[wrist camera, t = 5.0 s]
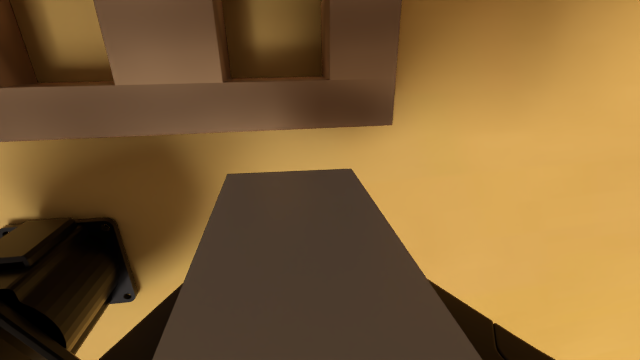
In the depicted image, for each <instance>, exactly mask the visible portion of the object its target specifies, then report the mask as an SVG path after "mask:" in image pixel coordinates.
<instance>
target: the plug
mask: <svg viewBox="0 0 640 360" xmlns="http://www.w3.org/2000/svg"><path fill="white" fill-rule="evenodd" d="M152 360H482V358H481V357H480V355H479V354H478V353H477V351H476V350H475V348H474V347H473V345H472V344H471V342H470V341H469V339H468V338H467V337H466V335H465V334H464V332H463V331H462V329H461V328H460V326H459V325H458V323H457V322H456V320H455V319H454V318H453V316H452V315H451V313H450V312H449V310H448V309H447V307H446V306H445V304H444V303H443V302H442V300H441V299H440V297H439V296H438V294H437V293H436V291H435V290H434V288H433V287H432V286H431V284H430V283H429V281H428V280H427V278H426V277H425V275H424V274H423V272H422V271H421V270H420V268H419V267H418V265H417V264H416V262H415V261H414V259H413V258H412V256H411V255H410V253H409V252H408V251H407V249H406V248H405V246H404V245H403V243H402V242H401V240H400V239H399V237H398V236H397V235H396V233H395V232H394V230H393V229H392V227H391V226H390V224H389V223H388V221H387V220H386V219H385V217H384V216H383V214H382V213H381V211H380V210H379V208H378V207H377V205H376V204H375V202H374V201H373V200H372V198H371V197H370V195H369V194H368V192H367V191H366V189H365V188H364V186H363V185H362V184H361V182H360V181H359V179H358V178H357V176H356V175H355V173H354V172H353V170H352V169H333V170H310V171H287V172H264V173H240V174H227V176H226V179H225V181H224V184H223V186H222V189H221V191H220V194H219V196H218V199H217V201H216V204H215V206H214V208H213V211H212V213H211V216H210V218H209V221H208V223H207V226H206V228H205V231H204V233H203V236H202V238H201V241H200V243H199V246H198V248H197V250H196V253H195V255H194V258H193V260H192V263H191V265H190V268H189V270H188V273H187V275H186V278H185V280H184V283H183V285H182V288H181V290H180V293H179V295H178V297H177V300H176V302H175V305H174V307H173V310H172V312H171V315H170V317H169V320H168V322H167V325H166V327H165V330H164V332H163V335H162V337H161V339H160V342H159V344H158V347H157V349H156V352H155V354H154V357H153V359H152Z"/></svg>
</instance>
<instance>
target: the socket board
mask: <svg viewBox="0 0 640 360" xmlns="http://www.w3.org/2000/svg"><path fill="white" fill-rule="evenodd" d="M93 1H94V5H95V9H96V13H97V17H98V21H99V24H100V28H101V32H102V36H103V40H104V44H105V48H106V52H107V55H108V59H109V63H110V67H111V71H112V75H113V79H114V81H94V82H50V83H38V82H37V79H36V76H35V73H34V71H33V68H32V65H31V62H30V59H29V56H28V53H27V51H26V48H25V45H24V42H23V39H22V36H21V33H20V31H19V28H18V25H17V22H16V19H15V16H14V13H13V10H12V8H11V5H10V2H9V0H0V142H9V141H32V140H56V139H79V138H102V137H126V136H149V135H173V134H196V133H219V132H243V131H266V130H290V129H313V128H336V127H360V126H383V125H392V120H393V107H394V94H395V81H396V68H397V55H398V42H399V29H400V16H401V3H402V0H321V53H322V76H314V77H270V78H231V73H230V64H229V56H228V47H227V39H226V30H225V22H224V14H223V5H222V0H93Z"/></svg>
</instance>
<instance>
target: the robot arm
mask: <svg viewBox="0 0 640 360" xmlns="http://www.w3.org/2000/svg"><path fill="white" fill-rule="evenodd" d="M104 224H106V225H108V226H109V227H110V228H107V227H105V226H104ZM8 232H9V233H8ZM427 280H428V279H427ZM428 281H429V283H430V284H431V286H432V287H433V288H434V290H435V291H436V293H437V294H438V296H439V297H440V299H441V300H442V302H443V303H444V304H445V306H446V307H447V309H448V310H449V312H450V313H451V315H452V316H453V318H454V319H455V320H456V322H457V323H458V325H459V326H460V328H461V329H462V331H463V332H464V334H465V335H466V337H467V338H468V339H469V341H470V342H471V344H472V345H473V347H474V348H475V350H476V351H477V353H478V354H479V355H480V357H481V358H482V360H555V359H553V358H552V357H550V356H548V355H546V354H545V353H543V352H541V351H540V350H538V349H536V348H535V347H533V346H531V345H530V344H528V343H526V342H525V341H523V340H522V339H520V338H518V337H517V336H515V335H514V334H512V333H510V332H509V331H507V330H506V329H504V328H503V327H501V326H500V325H498V324H496V323H494V324H493V321H492V320H490V319H489V318H487V317H485V316H484V315H482V314H481V313H479V312H478V311H476V310H475V309H473V308H471V307H470V306H468V305H467V304H465V303H464V302H462V301H461V300H459V299H458V298H456V297H454V296H453V295H451V294H450V293H448V292H447V291H445V290H444V289H442V288H440V287H439V286H437V285H436V284H434V283H433V282H431V281H430V280H428ZM182 285H183V284H181V285H180V286H179V287H178V288H177V289H176V290H175V291H174V292H173V293H172V294H170V295H169V296H168V297H167V298H166V299H165V300H164V301H163V302H162V303H160V304H159V305H158V306H157V307H156V308H155V309H154V310H153V311H152V312H151V313H149V314H148V315H147V316H146V317H145V318H144V319H143V320H142V321H141V322H140V323H138V324H137V325H136V326H135V327H134V328H133V329H132V330H131V331H130V332H129V333H127V334H126V335H125V336H124V337H123V338H122V339H121V340H120V341H119V342H118V343H116V344H115V345H114V346H113V347H112V348H111V349H110V350H109V351H108V352H106V353H105V354H104V355H103V356H102V357H101V358H100V359H99V360H152V359H153V357H154V354H155V352H156V349H157V347H158V344H159V342H160V339H161V337H162V335H163V332H164V330H165V327H166V325H167V322H168V320H169V317H170V315H171V312H172V310H173V307H174V305H175V302H176V300H177V297H178V295H179V293H180V290H181V288H182ZM128 294H130V295H128ZM137 294H138V291H137V288H136V285H135V282H134V278H133V275H132V272H131V269H130V265H129V262H128V259H127V256H126V252H125V249H124V246H123V243H122V239H121V236H120V233H119V229H118V226H117V223H116V222H115V221H114V220H113V219H111V218H94V219H81V220H75V219H73V218H59V219H45V220H30V221H26V222H24V223H23V224H11V225H6V226H4V227H3V228H1V229H0V360H81V359H79V358H78V357H76V356H75V354H76V353H77V351H78V350H79V348H80V347H81V345H82V344H83V342H84V341H85V339H86V338H87V336H88V335H89V333H90V332H91V330H92V329H93V327H94V326H95V324H96V323H97V321H98V320H99V318H100V317H101V315H102V314H103V313H104V311H105V310H106V308H107V307H108V305H109V304H115V303H124V302H131V301H133V300H134V299H135V298H136V296H137Z"/></svg>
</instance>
